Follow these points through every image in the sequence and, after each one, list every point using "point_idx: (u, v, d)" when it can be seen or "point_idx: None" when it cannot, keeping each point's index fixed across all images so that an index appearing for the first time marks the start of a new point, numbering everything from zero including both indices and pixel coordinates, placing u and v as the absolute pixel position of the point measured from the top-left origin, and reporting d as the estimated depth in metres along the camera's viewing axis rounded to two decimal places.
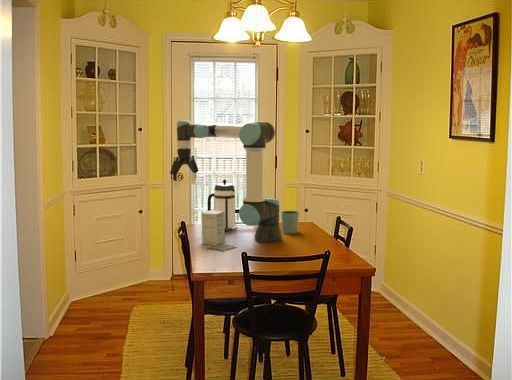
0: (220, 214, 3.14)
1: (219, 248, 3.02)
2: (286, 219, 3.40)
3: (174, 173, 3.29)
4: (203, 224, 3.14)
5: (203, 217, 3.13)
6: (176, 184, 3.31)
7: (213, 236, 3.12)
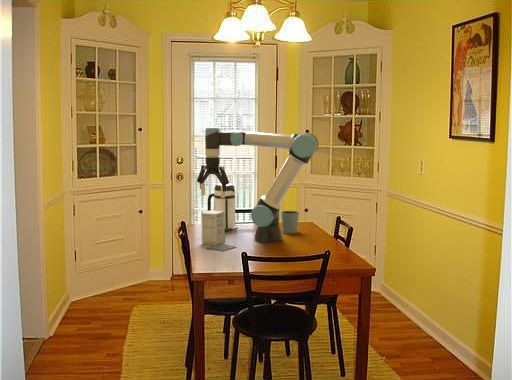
0: (220, 214, 3.14)
1: (219, 248, 3.02)
2: (286, 219, 3.40)
3: (199, 181, 3.17)
4: (203, 224, 3.14)
5: (203, 217, 3.13)
6: None
7: (213, 236, 3.12)
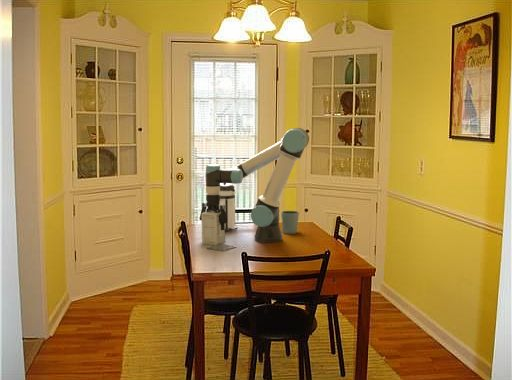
0: None
1: (219, 248, 3.02)
2: (286, 219, 3.40)
3: None
4: (203, 224, 3.14)
5: (203, 217, 3.13)
6: None
7: (213, 235, 3.12)
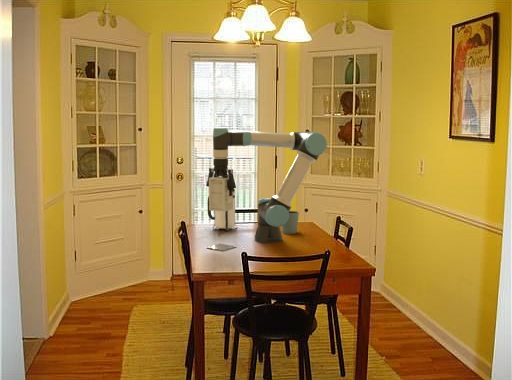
0: None
1: (219, 248, 3.02)
2: None
3: None
4: (210, 190, 2.99)
5: (210, 182, 2.98)
6: None
7: (220, 202, 2.97)
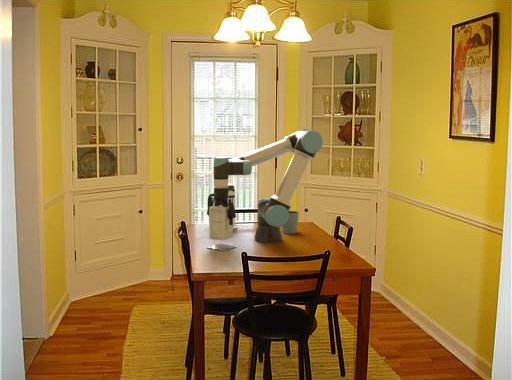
0: (228, 208, 3.01)
1: (219, 248, 3.02)
2: None
3: None
4: (211, 219, 3.01)
5: (211, 211, 3.00)
6: None
7: (221, 231, 2.99)
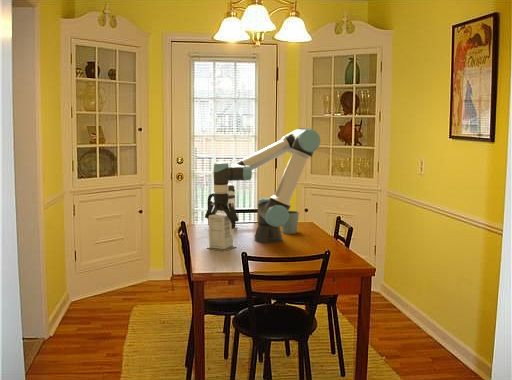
0: None
1: None
2: None
3: (207, 217, 3.08)
4: (210, 227, 3.02)
5: (210, 220, 3.01)
6: None
7: (220, 239, 3.00)
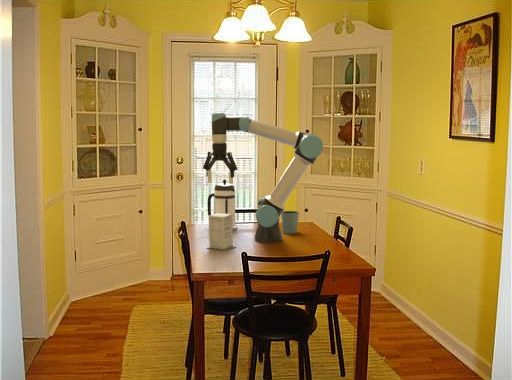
0: (228, 217, 3.02)
1: None
2: (286, 219, 3.40)
3: (205, 168, 3.12)
4: (210, 227, 3.02)
5: (210, 220, 3.01)
6: None
7: (220, 239, 3.00)
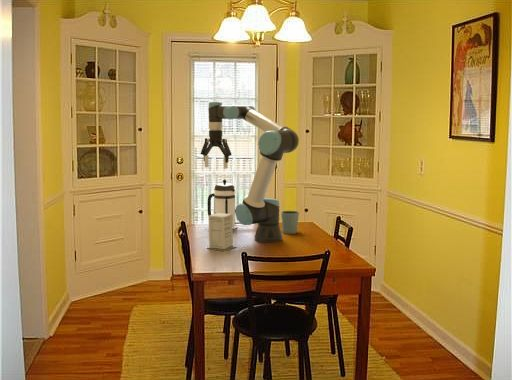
0: (228, 217, 3.02)
1: None
2: (286, 219, 3.40)
3: None
4: (210, 227, 3.02)
5: (210, 220, 3.01)
6: None
7: (220, 239, 3.00)
